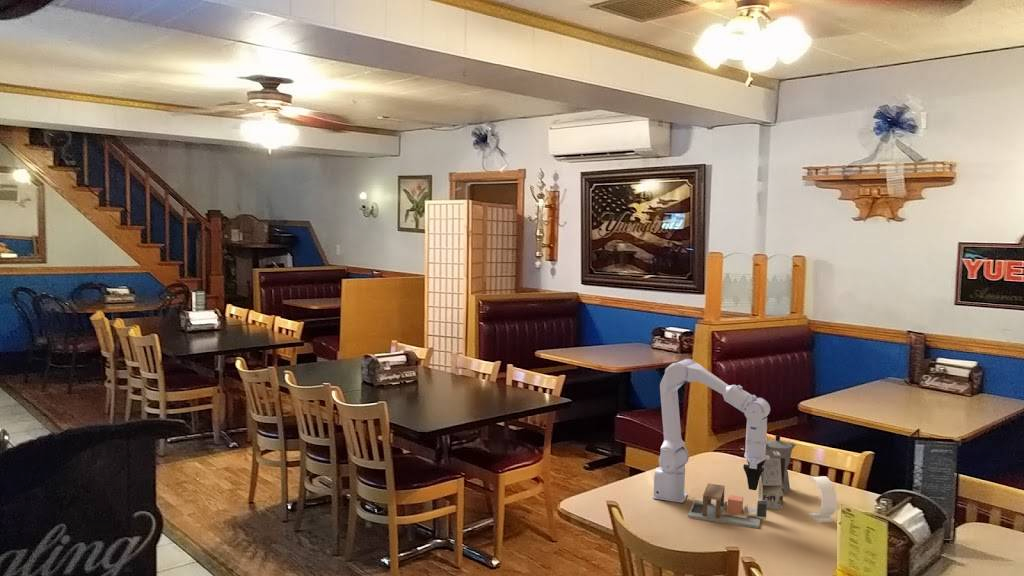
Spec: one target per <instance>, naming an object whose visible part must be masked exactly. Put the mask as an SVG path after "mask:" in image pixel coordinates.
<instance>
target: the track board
mask: <svg viewBox="0 0 1024 576" xmlns="http://www.w3.org/2000/svg"><path fill="white" fill-rule="evenodd" d="M727 506H728V504H727ZM744 508H745V506H743V509H744ZM748 509H749V511H748V512H755V513H757V508H752V507H748ZM722 510H723V507H722V506H721V511H720V518H716V502H712V501H711V505H709V504H707V516H702V511H703V500H698V499H694V500H693V503H692V504H691V507H690V509H689V512H688V514H687V518H689V519H690V518H691V519H696V520H703V521H708V522H714V523H715V522H716V523H723V524H728V525H735V526H741V527H748V528H753V529H760V525H761V524H760V523H761V520H762V519H761V518H755V517H748V516H747V519H746V518H739V517H733V516H726V515H721V513H722Z"/></svg>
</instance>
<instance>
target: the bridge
mask: <svg viewBox="0 0 1024 576" xmlns="http://www.w3.org/2000/svg"><path fill="white" fill-rule="evenodd" d="M725 487H726V485H722V484H716V483H707V485H706V487H705V490H704V493H703V495H702V501H703V511H702V516H707V504H709V505H711V502H712V500H714V501H715V503H716V518H720V511H721V506H722V507H723V506H724V503H725Z"/></svg>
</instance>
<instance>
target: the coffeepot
mask: <svg viewBox="0 0 1024 576" xmlns="http://www.w3.org/2000/svg"><path fill="white" fill-rule="evenodd" d="M774 436H775V439H768V440H766V450H767V449H771V450H781V452H782V454H783V455H784V457H785V471H784V489H783V494H788V493H789V492H790V491H791V485H790V478H789V477H790V476H789V472H788V467H789V464H790V460H791V455H792V452H793V449H794V448H795V447H796V446H797V444H796V443H794V442H788V441H783V440H781V435H778V434H776V435H774Z"/></svg>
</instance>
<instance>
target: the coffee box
mask: <svg viewBox="0 0 1024 576" xmlns="http://www.w3.org/2000/svg"><path fill="white" fill-rule="evenodd" d="M765 455H767V456H770V459H769V460H766V461H765V462H764V464H763V466H762V468H764V470H763V472H762V474H761V476H760V478H759V482H758V494H757V495H758V496H757V497H758V500H759V501H766V502H767V509H773V510H783V506H784V505H783V504H784V493H783V489H784V471H785V457H784V455H783V454H782V452H781V450H771V449H767V450H766V454H765Z"/></svg>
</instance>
